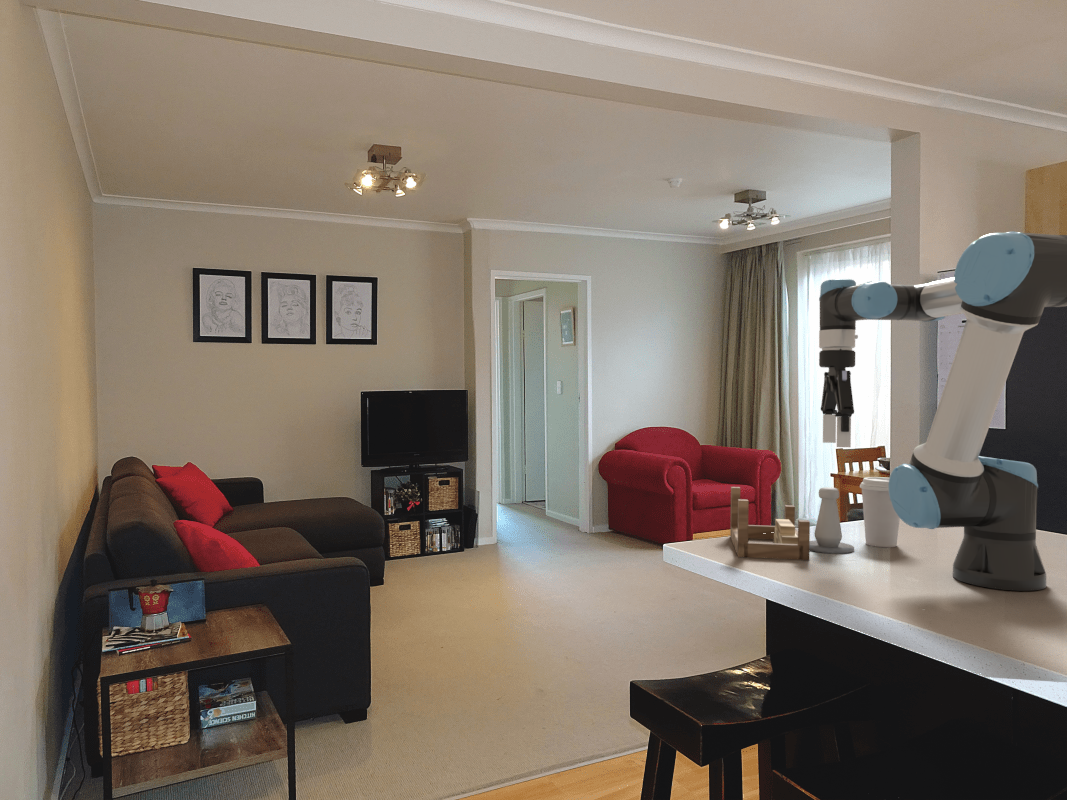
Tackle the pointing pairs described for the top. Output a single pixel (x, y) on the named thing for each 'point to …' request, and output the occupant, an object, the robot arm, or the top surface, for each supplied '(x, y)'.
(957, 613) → the top surface
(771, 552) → the rack
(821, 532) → the salt shaker
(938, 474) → the robot arm
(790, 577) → the top surface
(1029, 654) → the top surface
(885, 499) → the coffee cup
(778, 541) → the offcut stack
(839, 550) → the coaster
